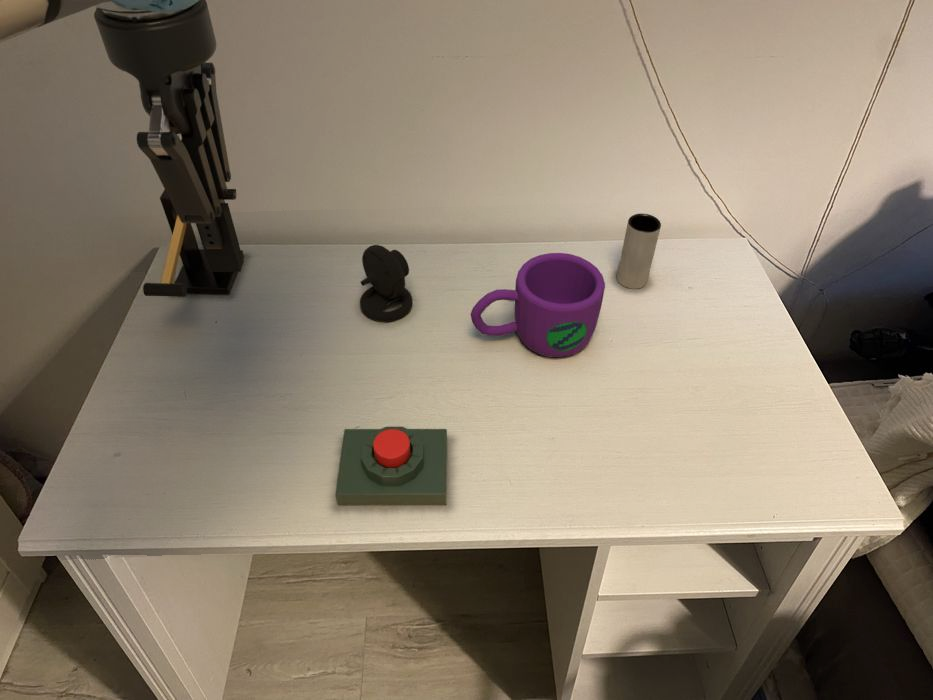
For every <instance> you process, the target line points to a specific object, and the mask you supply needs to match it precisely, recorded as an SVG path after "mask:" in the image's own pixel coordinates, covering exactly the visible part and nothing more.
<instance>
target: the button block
mask: <svg viewBox="0 0 933 700" xmlns="http://www.w3.org/2000/svg"><path fill="white" fill-rule="evenodd" d="M389 429H396V430H400V431H402V432H404V433H405V434H406V435H407V436H408V438H409V441H410V457H409V459H408V460H407V461H406V462H405V463H404V464H402V465H401V466H398V467H392V468H391V467H385V466H382V465H381V464H379V463H378V462H377V460H376V458H375V454H374V447H373V443H374V440H375V438H376V436H377V435H378V434H380V433H381V432H383V431H385V430H389ZM447 465H448V429H447V428H407V427H404V426H384V427H382V428H344V431H343V439H342V446H341V453H340V459H339V467H338V473H337V482H336V488H335V498H336V503H337V506H446V505H447V483H448V482H447V480H448V479H447V477H448V476H447V474H448V471H447V470H448V466H447Z"/></svg>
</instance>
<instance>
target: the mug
mask: <svg viewBox="0 0 933 700" xmlns="http://www.w3.org/2000/svg"><path fill="white" fill-rule="evenodd" d="M605 289H606V282H605V279H604V276H603V274H602V273H601V271H600V270H599V268H598V267H597V266H595V264H594V263H592V262H591V261H589V260H587V259H585V258H583V257H581V256H577V255H575V254H571V253H564V252H548V253H544V254H539V255H536V256H534V257H532V258H530V259H529V260H527V261H525V262H524V263H523V264H522V265H521V266H520V268H519V270H518V272H517V274H516V278H515V287H514V289H504V288H503V289H502V288H501V289H495V290H492V291H490V292H487V293H486V294H484V296H482V297H481V298H480V299H479V300H478V301H477V302H476V303H475V304H474V305H473V307H472V309H471V312H470V319H471V323H472V324H473V326H474V328H475V329H476V330H477V331H478V332H479V333H480V334H481V335H486V336H490V337H498V336H499V337H500V336H505V335H509V334H513V333H514V332H516V334H517V335H518V337H519V339H520V341H521V343H523V345H524V346H525V347H527V349H529V350H531V351H532V352H534V353H535V354H538V355H541V356H543V357H548V358H549V357H550V358H565V357H570V356H573V355H576V354H577V353H580V352H581V351H582V350H583V349H584V348H585V347H587V346H588V345H589V343H590V341H591V339H592V337H593V335H594V333H595V331H596V328H597V326H598V325H597V324H598V322H599V317H600V313H601V310H602V305H603V300H604V295H605ZM497 301H510V302H511V301H512V302H514V320H512V321H510V322H508V323H505V324H499V325H489V324H487V323H485V321H484V319H483V318H482V314H483V313H484V312H485V311H486V309H487V308H488V307H489V306H490V305H491V304H493V303H495V302H497Z"/></svg>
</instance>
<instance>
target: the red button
mask: <svg viewBox="0 0 933 700" xmlns="http://www.w3.org/2000/svg"><path fill="white" fill-rule="evenodd" d="M373 447H374V454H375V458H376V460H377V462H378V463H379V464H381V465H382V466H385V467H391V468H392V467H398V466H401V465H402V464H404V463H405V462H406V461H407V460H408V459H409V457H410V441H409V438H408V436H407V435H406V434H405V433H404V432H402V431H400V430H396V429H389V430H385V431H383V432H381V433H380V434H378V435H377V436H376V438H375V440H374V443H373Z"/></svg>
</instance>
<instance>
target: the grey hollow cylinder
mask: <svg viewBox="0 0 933 700" xmlns="http://www.w3.org/2000/svg"><path fill="white" fill-rule="evenodd" d="M626 224H627V225H626V230H625V234H624V239H623V244H622V249H621V254H620V259H619V262H618V269H617V272H616V281H617V282H618V283H619V284H620V285H621V286H622V287H624V288H627V289H633V290H636V289H641V288H644V287H645V286H646V285H647V284H648V280H649V276H650V272H651V269H652V265H653V260H654V257H655V252H656V248H657V245H658V240H659V235H660V232H661V228H662V223H661V220H659V218H657V217H656V216H654V215H653V214H648V213H635V214H633V215H631V216H630V217H629V218H628V220H627V223H626Z"/></svg>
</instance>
